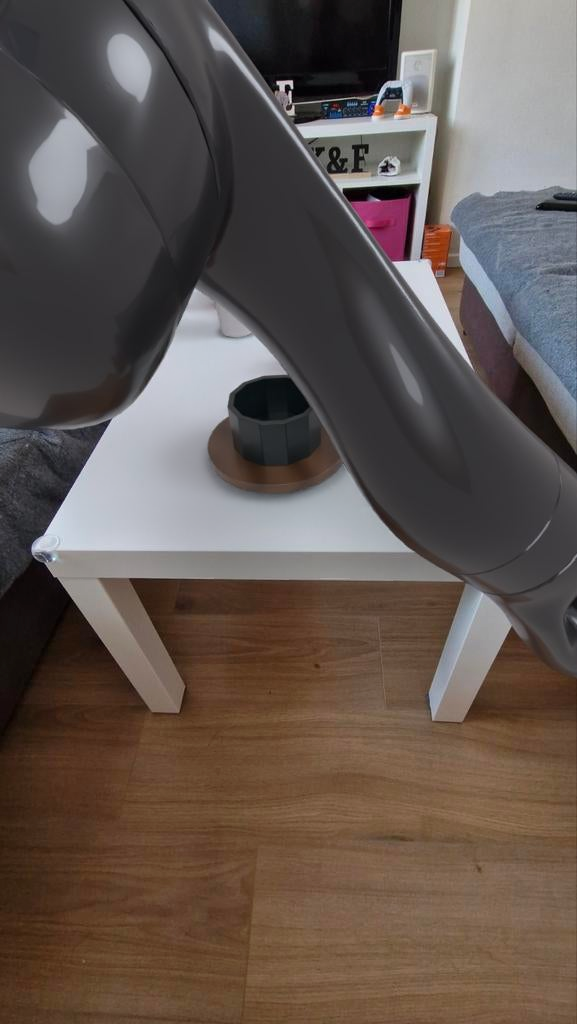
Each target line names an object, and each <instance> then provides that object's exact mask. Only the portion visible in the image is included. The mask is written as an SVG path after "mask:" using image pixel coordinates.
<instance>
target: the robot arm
mask: <svg viewBox="0 0 577 1024" xmlns="http://www.w3.org/2000/svg"><path fill="white" fill-rule="evenodd" d="M194 290H197V291H198V292H200V293H201V294H202V295H204V296H205V297H206V298H208V299H210V300H211V301H213V302H214V303H215V302H216V303H217V304H218V305H220V306H221V307H222V308H224V309H225V310H226V311H228V312H229V313H230V314H231V315H232V316H234V317H235V318H236V319H237V320H238V321H239V322H240V323H242V324H243V325H244V326H245V327H246V328H247V329H248V330H249V331H250V332H251V333H252V334H251V335H253V336H254V337H255V338H256V339H257V341H259V342H260V343H261V344H262V345H263V346H264V348H265V349H267V351H268V352H269V353H270V354H271V355H272V356H273V358H275V360H276V361H277V362H278V364H279V365H280V366H281V367H282V369H283V370H284V372H285V373H286V375H289V376H290V378H291V379H292V380H293V382H294V383H295V385H296V386H297V387H298V389H299V390H300V392H301V393H302V394H303V396H304V397H305V399H306V401H307V402H308V404H309V405H310V407H311V409H312V410H313V412H314V414H315V415H316V417H317V418H318V420H319V422H320V423H321V425H322V427H323V428H324V430H325V432H326V434H327V435H328V437H329V439H330V441H331V442H332V444H333V446H334V448H335V449H336V451H337V453H338V455H339V457H340V458H341V460H342V462H343V465H344V466H345V468H346V470H347V472H348V474H349V475H350V477H351V478H352V480H353V482H354V483H355V485H356V487H357V488H358V490H359V492H360V494H361V495H362V497H363V498H364V500H365V501H366V502H367V505H369V507H370V508H371V510H372V511H373V512H374V513H375V515H376V517H377V518H378V519H379V520H380V521H381V522H382V523H383V525H384V526H386V528H387V529H388V530H389V531H390V532H391V533H392V534H393V535H394V536H395V537H396V538H397V539H398V540H399V541H400V542H401V543H402V544H403V545H405V547H407V548H408V549H410V550H411V551H412V552H413V553H415V554H417V555H418V556H419V557H421V558H422V559H424V560H426V561H428V562H429V563H430V564H433V565H434V566H436V567H437V568H439V569H441V570H443V571H445V572H446V573H448V574H449V575H451V576H453V577H454V578H456V579H459V580H460V581H462V582H463V583H466V584H467V585H469V586H470V587H472V588H473V589H476V590H478V591H479V592H481V593H482V594H484V595H485V596H486V597H487V598H489V600H491V601H492V602H493V603H494V604H495V605H496V606H497V607H498V608H499V609H500V610H501V612H502V613H503V614H504V615H505V617H506V618H507V621H508V622H509V624H510V625H511V627H512V628H513V630H514V632H515V633H516V634H517V636H518V637H519V639H521V641H522V642H523V644H524V645H525V647H527V649H528V650H529V651H530V652H531V653H532V654H533V655H534V656H535V657H536V658H537V659H538V660H539V661H541V662H542V663H543V664H544V665H545V666H546V667H548V668H550V669H551V670H553V671H554V672H556V673H558V674H560V675H563V676H566V677H571V678H576V679H577V471H576V470H574V469H573V468H572V467H571V466H570V465H568V463H567V462H566V461H564V460H563V459H562V458H561V457H560V456H559V454H557V453H556V452H555V451H554V450H553V449H552V448H551V447H550V446H549V445H547V443H545V441H543V440H542V439H541V438H540V437H539V436H538V435H536V434H535V432H533V431H532V430H531V429H530V428H529V427H528V426H527V425H526V424H525V423H524V422H522V420H521V419H520V418H519V417H518V416H516V415H515V413H514V412H513V411H512V410H511V409H510V408H509V407H508V406H507V405H506V404H505V403H504V402H503V400H501V399H500V398H499V396H497V395H496V393H495V392H494V391H493V390H492V389H491V387H489V386H488V384H486V382H485V381H484V380H483V379H482V378H481V376H479V375H478V374H477V372H476V371H475V370H474V369H473V368H472V366H471V365H470V364H469V363H468V361H467V360H466V358H464V356H463V355H462V354H461V352H459V350H458V349H457V347H456V346H455V345H454V343H453V342H452V341H451V340H450V338H449V337H448V336H447V334H446V333H445V332H444V331H443V328H441V326H440V325H439V324H438V323H437V322H436V320H435V318H434V317H433V316H432V315H431V313H430V312H429V311H428V310H427V308H426V307H425V305H424V304H423V302H422V301H421V300H420V298H419V297H418V295H417V294H416V292H415V291H414V290H413V289H412V287H411V286H410V285H409V283H408V281H406V279H405V278H404V276H403V275H402V274H401V272H400V271H399V270H398V268H397V266H396V265H395V264H394V263H393V261H392V260H391V258H390V257H389V256H388V254H387V253H386V251H385V250H384V249H383V248H382V245H380V243H379V241H377V239H376V237H375V236H374V235H373V234H372V232H371V230H370V229H369V228H368V226H367V225H366V223H365V222H364V221H363V219H362V218H361V216H360V215H359V213H358V212H357V211H356V209H355V208H354V207H353V205H352V204H351V203H350V201H349V200H348V199H347V197H346V196H345V195H344V193H343V192H342V190H341V189H340V187H339V186H338V185H337V183H336V182H335V181H334V179H333V178H332V176H331V175H330V173H329V172H328V171H327V169H326V168H325V166H324V165H323V164H322V162H321V160H320V159H319V158H318V156H317V155H316V153H315V152H314V150H313V149H312V148H311V146H310V144H309V143H308V141H307V140H306V139H305V137H304V135H303V134H302V133H301V132H300V130H299V128H298V127H297V125H296V124H295V123H294V121H293V120H292V118H291V117H290V115H289V113H288V112H287V111H286V109H285V108H284V107H283V104H282V103H281V102H280V100H279V99H278V98H277V97H276V94H275V93H274V92H273V91H272V89H271V87H270V86H269V85H268V83H267V82H266V80H265V79H264V77H263V76H262V74H261V72H260V71H259V70H258V68H257V67H256V65H255V64H254V63H253V61H252V60H251V59H250V57H249V56H248V54H247V53H246V51H244V49H243V47H242V46H241V44H240V43H239V42H238V40H237V39H236V37H235V36H234V34H233V33H232V32H231V30H230V29H229V28H228V26H227V25H226V23H225V22H224V21H223V19H222V18H221V17H220V15H219V13H218V12H217V11H216V9H214V7H213V6H212V5H211V3H210V2H209V0H0V429H7V430H19V431H51V432H52V431H66V430H76V429H82V428H87V427H92V426H96V425H100V424H102V423H104V422H106V421H109V420H112V419H115V418H116V417H118V416H119V415H121V414H122V413H124V412H125V411H126V410H127V409H129V407H131V406H132V405H133V404H134V403H135V402H136V400H137V399H138V398H139V397H140V396H141V395H142V393H143V392H144V391H145V390H146V388H147V387H148V385H149V384H150V382H151V380H152V379H153V377H154V376H155V374H156V372H157V371H158V369H159V368H160V367H161V364H162V363H163V361H164V359H165V357H166V355H167V353H168V351H169V349H170V347H171V345H172V343H173V340H174V338H175V336H176V332H177V328H178V327H179V325H180V322H181V320H182V318H183V316H184V313H185V311H186V310H187V307H188V305H189V302H190V300H191V297H192V296H193V293H194Z"/></svg>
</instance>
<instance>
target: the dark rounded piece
mask: <svg viewBox="0 0 577 1024" xmlns="http://www.w3.org/2000/svg"><path fill="white" fill-rule="evenodd" d="M226 407H227V415H228V416H226V418H224V419H223V420H222V421H220V422H219V423H218V424H217V426H216V427H214V429H213V430H212V432H211V434H210V436H209V438H208V441H207V454H208V458H209V459H208V460H209V462H210V465H211V467H212V469H213V471H214V472H215V473H216V474H217V476H219V478H221V479H222V480H223V481H224V482H226V483H228V484H230V485H231V486H233V487H236V488H238V489H241V490H243V491H248V492H253V493H258V494H288V493H292V492H297V491H298V492H299V491H301V490H306V489H309V488H311V487H314V486H316V485H318V484H320V483H322V482H324V481H326V480H328V479H329V478H331V477H332V476H333V475H334V474H335V473H336V472H338V470H339V469H340V468H341V467H342V466H343V465H344V463H343V462H342V460H341V458H340V457H339V455H338V453H337V451H336V449H335V448H334V446H333V444H332V442H331V441H330V439H329V437H328V435H327V434H326V432H325V430H324V428H323V427H322V425H321V423H320V422H319V420H318V418H317V417H316V415H315V414H314V412H313V410H312V409H311V407H310V405H309V404H308V402H307V401H306V399H305V397H304V396H303V394H302V393H301V392H300V390H299V389H298V387H297V386H296V385H295V383H294V382H293V380H292V379H291V378H290V376H289V375H288V374H270V375H262V376H261V375H260V376H259V377H256V378H252V379H249V380H245V381H243V382H242V383H240V384H239V385H238V386H237V387H236V388H235V389H233V390H232V391H231V392H230V393H229V395H228V401H227V406H226Z"/></svg>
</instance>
